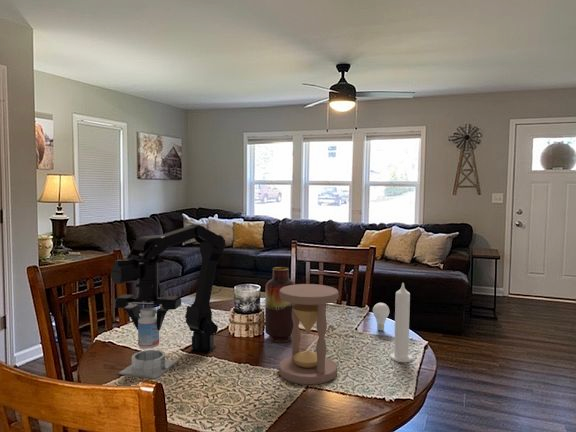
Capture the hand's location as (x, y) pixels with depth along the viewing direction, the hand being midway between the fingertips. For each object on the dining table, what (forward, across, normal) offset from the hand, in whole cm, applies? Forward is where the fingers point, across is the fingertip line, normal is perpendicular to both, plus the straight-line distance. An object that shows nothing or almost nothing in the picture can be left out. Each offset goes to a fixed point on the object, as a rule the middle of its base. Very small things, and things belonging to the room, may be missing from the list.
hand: (148, 329), depth 134 cm
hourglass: (+12, -48, -3) cm, 50 cm away
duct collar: (+12, 0, 0) cm, 12 cm away
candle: (+13, -78, -18) cm, 81 cm away
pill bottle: (+5, 0, 0) cm, 5 cm away
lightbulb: (+13, -74, -46) cm, 88 cm away
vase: (+12, -36, -32) cm, 50 cm away
